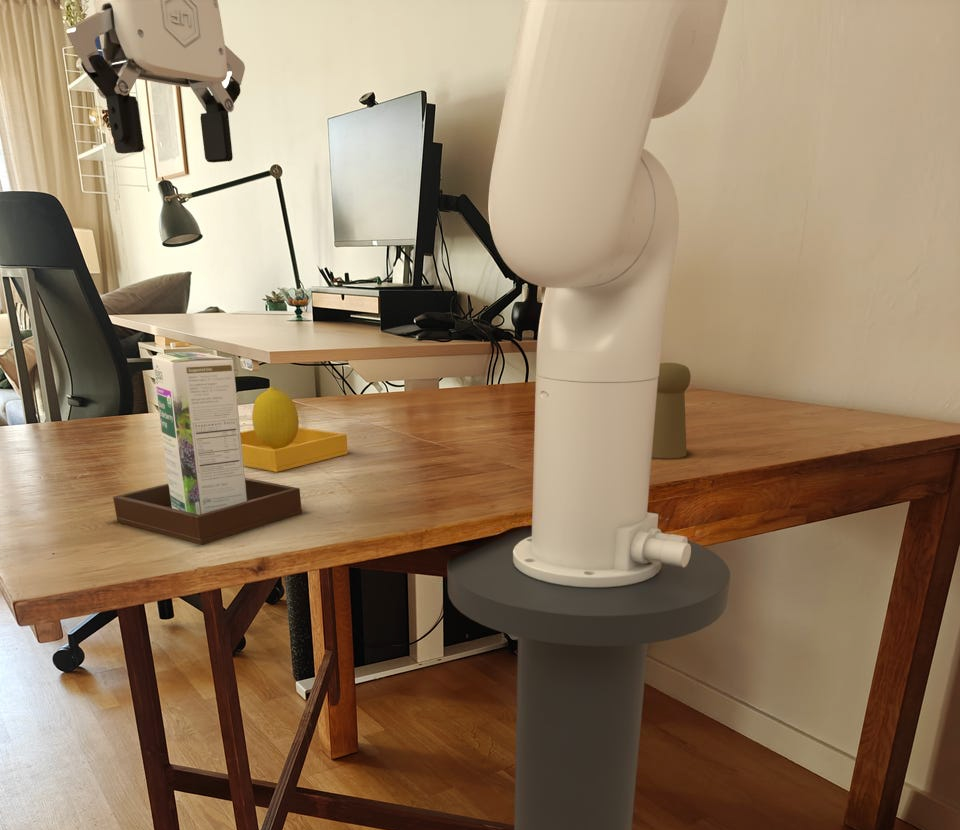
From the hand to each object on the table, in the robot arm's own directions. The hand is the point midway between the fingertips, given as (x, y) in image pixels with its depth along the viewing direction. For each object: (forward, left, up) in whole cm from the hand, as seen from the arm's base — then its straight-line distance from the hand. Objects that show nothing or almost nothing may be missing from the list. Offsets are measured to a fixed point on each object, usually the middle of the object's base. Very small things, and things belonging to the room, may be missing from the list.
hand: (176, 157), depth 78 cm
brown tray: (-6, +6, -31) cm, 32 cm away
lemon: (+9, -17, -31) cm, 36 cm away
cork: (-30, -46, -31) cm, 63 cm away
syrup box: (-6, +6, -31) cm, 32 cm away
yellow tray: (+9, -17, -31) cm, 37 cm away
